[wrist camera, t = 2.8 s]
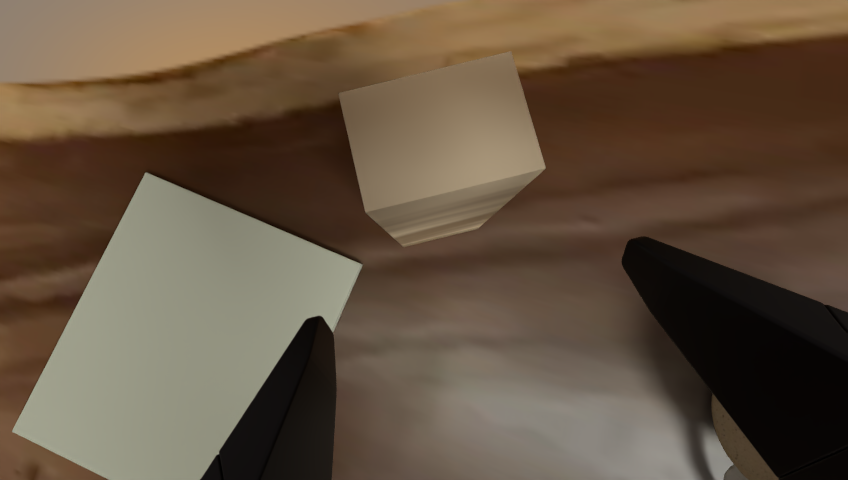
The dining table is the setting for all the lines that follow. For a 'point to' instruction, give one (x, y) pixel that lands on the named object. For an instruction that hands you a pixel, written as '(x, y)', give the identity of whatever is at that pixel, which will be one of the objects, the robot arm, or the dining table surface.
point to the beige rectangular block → (441, 147)
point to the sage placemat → (177, 335)
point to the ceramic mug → (738, 448)
